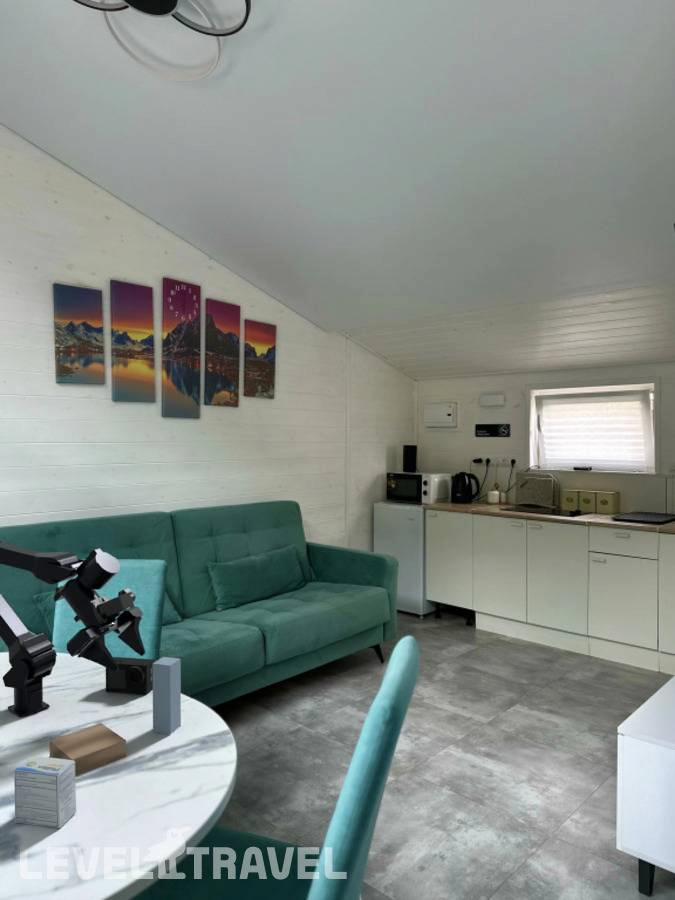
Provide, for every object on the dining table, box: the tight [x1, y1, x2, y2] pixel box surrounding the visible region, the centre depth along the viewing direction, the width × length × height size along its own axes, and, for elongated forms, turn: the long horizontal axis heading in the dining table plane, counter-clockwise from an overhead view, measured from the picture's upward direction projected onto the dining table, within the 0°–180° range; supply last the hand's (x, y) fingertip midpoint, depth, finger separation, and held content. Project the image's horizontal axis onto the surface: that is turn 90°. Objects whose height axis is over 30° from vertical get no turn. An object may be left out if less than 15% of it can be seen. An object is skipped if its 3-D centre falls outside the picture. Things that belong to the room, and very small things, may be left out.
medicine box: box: [13, 755, 77, 829], centre depth 99 cm, size 8×4×9 cm, turn 78°
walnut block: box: [49, 722, 127, 777], centre depth 119 cm, size 10×10×3 cm
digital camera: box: [105, 656, 156, 696], centre depth 149 cm, size 10×5×7 cm, turn 80°
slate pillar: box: [152, 656, 182, 735], centre depth 129 cm, size 4×4×14 cm
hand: (130, 661), depth 131 cm, fingers open, 9 cm apart
